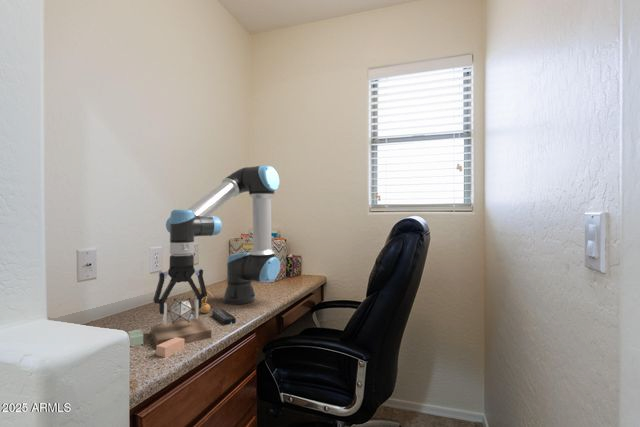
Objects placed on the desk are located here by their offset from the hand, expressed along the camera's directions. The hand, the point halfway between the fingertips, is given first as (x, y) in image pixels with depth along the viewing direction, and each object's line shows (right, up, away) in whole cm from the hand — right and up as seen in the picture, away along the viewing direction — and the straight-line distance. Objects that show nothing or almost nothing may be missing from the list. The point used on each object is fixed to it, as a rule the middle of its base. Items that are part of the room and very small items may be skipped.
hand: (180, 320), depth 104 cm
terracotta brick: (+3, -5, -13) cm, 14 cm away
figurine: (-1, -6, +24) cm, 24 cm away
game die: (0, -1, 0) cm, 1 cm away
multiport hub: (+9, -6, +17) cm, 20 cm away
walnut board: (0, -5, 0) cm, 5 cm away
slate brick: (-5, -6, +11) cm, 13 cm away
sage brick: (-12, -5, -6) cm, 14 cm away
